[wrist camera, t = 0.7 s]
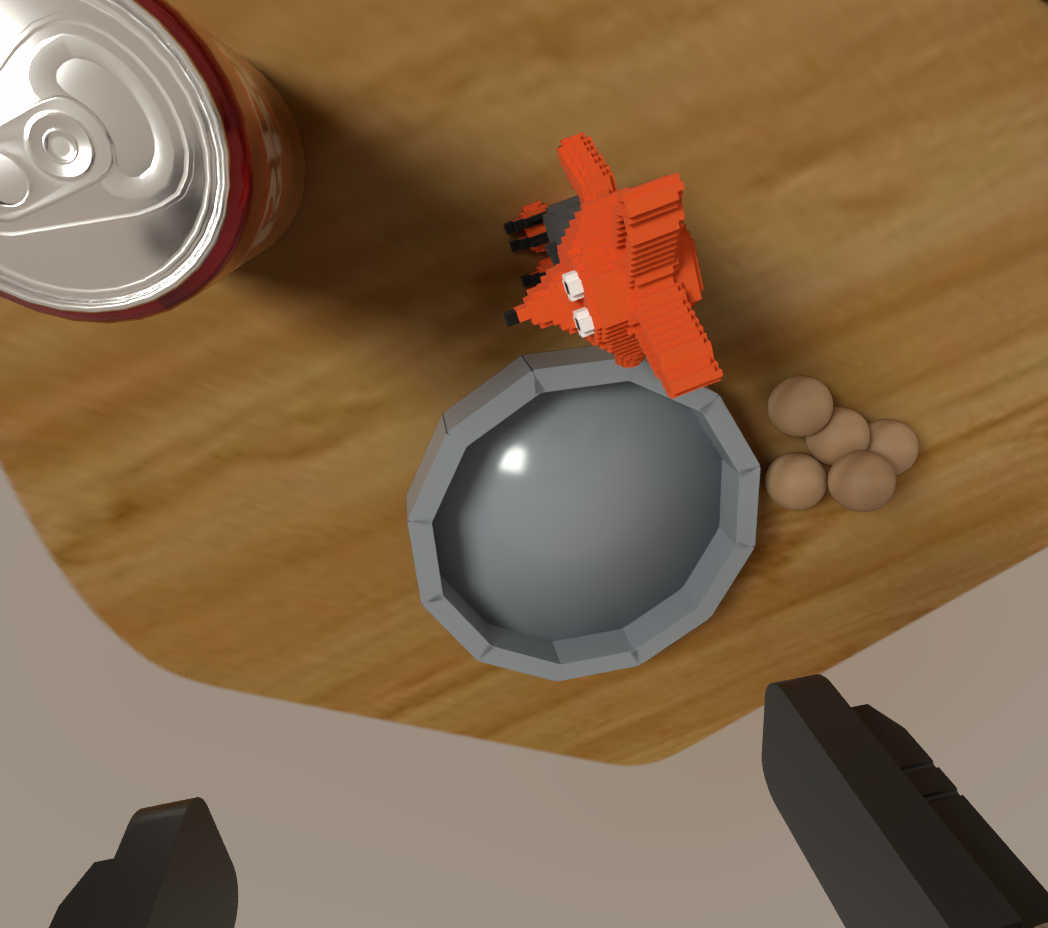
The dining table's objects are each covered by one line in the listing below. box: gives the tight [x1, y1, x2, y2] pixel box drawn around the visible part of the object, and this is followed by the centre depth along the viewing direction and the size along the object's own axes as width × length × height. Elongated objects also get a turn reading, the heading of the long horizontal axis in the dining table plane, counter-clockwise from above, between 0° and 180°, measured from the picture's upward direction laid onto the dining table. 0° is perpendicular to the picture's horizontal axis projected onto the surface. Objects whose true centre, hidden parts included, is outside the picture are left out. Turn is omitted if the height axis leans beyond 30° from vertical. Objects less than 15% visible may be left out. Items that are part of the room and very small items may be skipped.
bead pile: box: [765, 376, 919, 512], centre depth 31 cm, size 7×8×5 cm
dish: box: [406, 346, 760, 681], centre depth 32 cm, size 16×16×2 cm
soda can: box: [0, 0, 306, 323], centre depth 19 cm, size 7×7×12 cm
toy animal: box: [503, 132, 723, 399], centre depth 23 cm, size 8×6×12 cm
